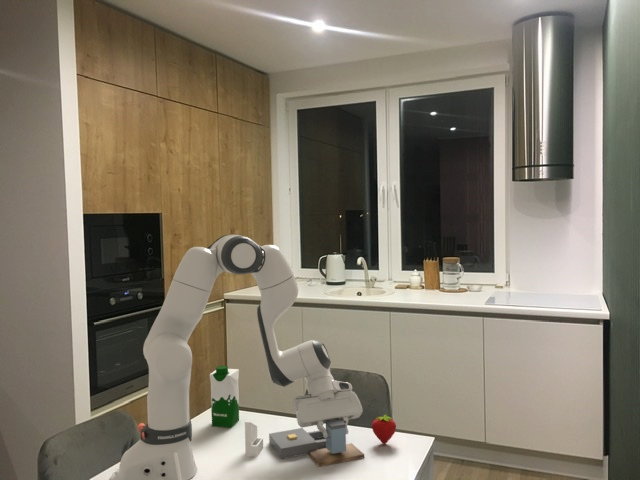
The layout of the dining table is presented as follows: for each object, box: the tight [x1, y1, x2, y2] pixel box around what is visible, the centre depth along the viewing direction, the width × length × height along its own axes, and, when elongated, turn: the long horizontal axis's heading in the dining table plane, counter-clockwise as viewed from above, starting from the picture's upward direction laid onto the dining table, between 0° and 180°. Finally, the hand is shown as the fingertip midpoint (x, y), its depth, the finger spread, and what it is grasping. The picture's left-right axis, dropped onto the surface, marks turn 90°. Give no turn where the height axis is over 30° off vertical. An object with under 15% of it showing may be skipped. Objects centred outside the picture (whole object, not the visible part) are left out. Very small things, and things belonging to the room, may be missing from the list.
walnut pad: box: [308, 442, 365, 467], centre depth 157 cm, size 14×8×1 cm, turn 112°
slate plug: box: [325, 419, 347, 454], centre depth 157 cm, size 4×4×8 cm
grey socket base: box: [268, 427, 326, 460], centre depth 165 cm, size 19×12×4 cm, turn 112°
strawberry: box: [371, 413, 397, 445], centre depth 165 cm, size 6×8×10 cm
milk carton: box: [209, 365, 240, 429], centre depth 183 cm, size 9×9×20 cm
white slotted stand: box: [244, 421, 264, 457], centre depth 160 cm, size 4×10×9 cm, turn 168°
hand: (336, 435), depth 156 cm, fingers closed on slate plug, 4 cm apart
